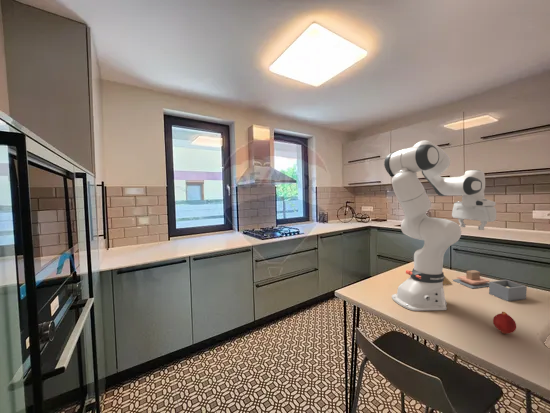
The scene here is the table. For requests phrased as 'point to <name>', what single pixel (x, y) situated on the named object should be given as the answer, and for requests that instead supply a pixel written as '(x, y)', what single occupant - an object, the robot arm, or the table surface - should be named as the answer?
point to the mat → (471, 285)
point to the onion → (504, 323)
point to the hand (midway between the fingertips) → (471, 228)
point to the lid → (473, 278)
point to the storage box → (507, 290)
